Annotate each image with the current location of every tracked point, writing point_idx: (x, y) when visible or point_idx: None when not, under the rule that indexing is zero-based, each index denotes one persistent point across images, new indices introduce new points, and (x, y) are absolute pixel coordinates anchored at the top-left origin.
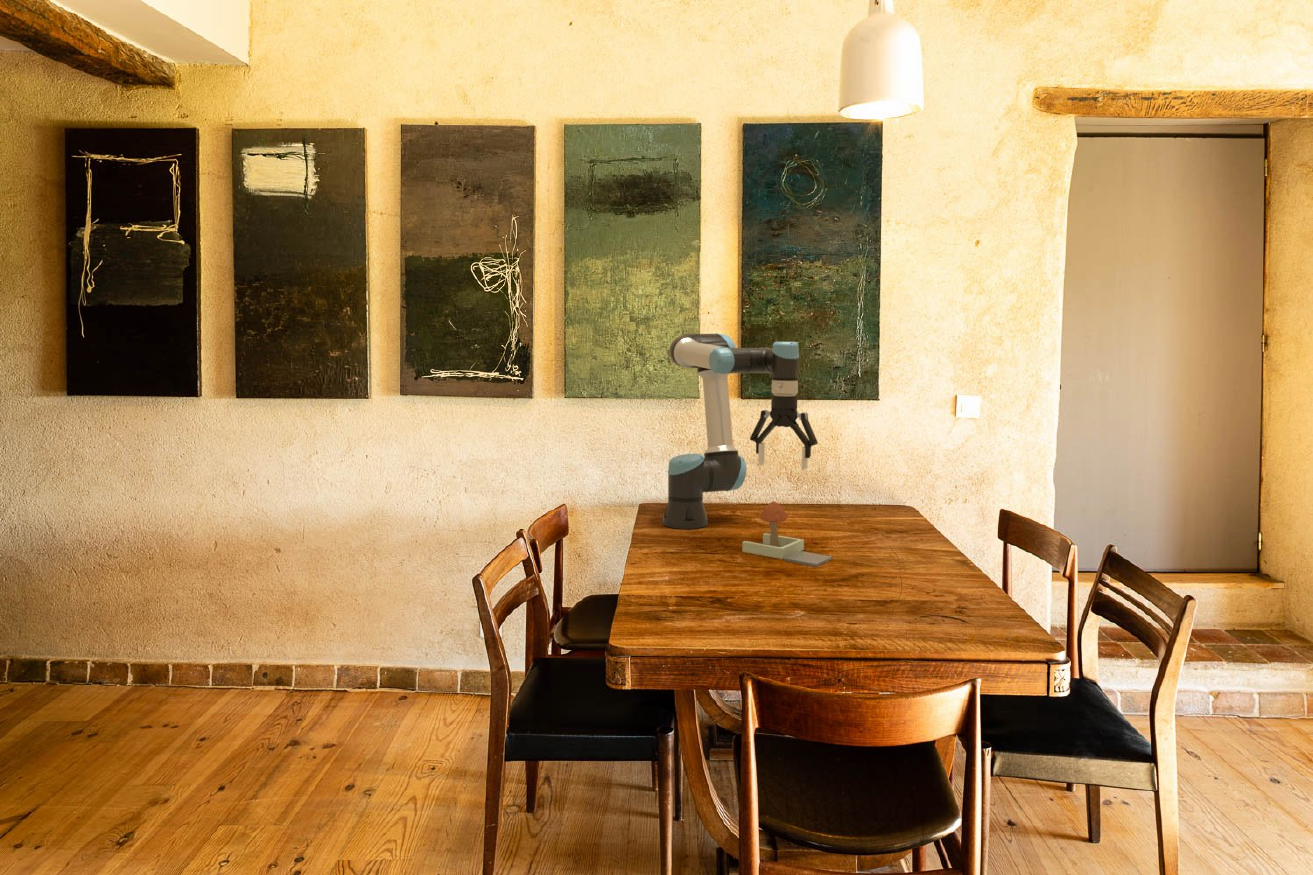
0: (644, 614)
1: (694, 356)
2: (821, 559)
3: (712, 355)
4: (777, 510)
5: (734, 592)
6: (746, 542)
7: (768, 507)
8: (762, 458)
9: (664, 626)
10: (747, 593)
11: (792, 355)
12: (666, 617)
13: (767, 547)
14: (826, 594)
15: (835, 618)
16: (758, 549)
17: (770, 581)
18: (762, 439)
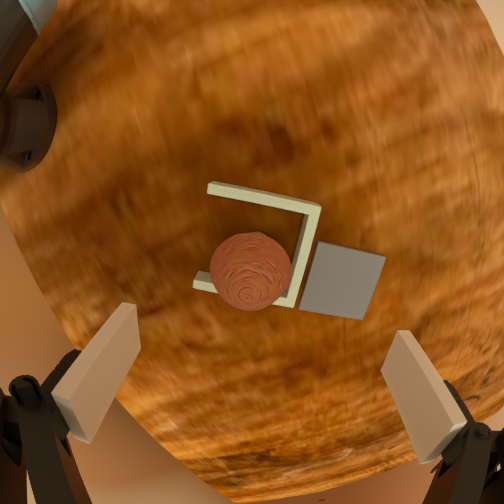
0: (219, 481)
1: None
2: (368, 287)
3: None
4: (267, 305)
5: (270, 440)
6: (202, 289)
7: (236, 305)
8: (123, 352)
9: (246, 489)
10: (285, 438)
11: None
12: (238, 482)
13: None
14: (375, 409)
15: (379, 447)
16: None
17: (301, 402)
18: (48, 426)
